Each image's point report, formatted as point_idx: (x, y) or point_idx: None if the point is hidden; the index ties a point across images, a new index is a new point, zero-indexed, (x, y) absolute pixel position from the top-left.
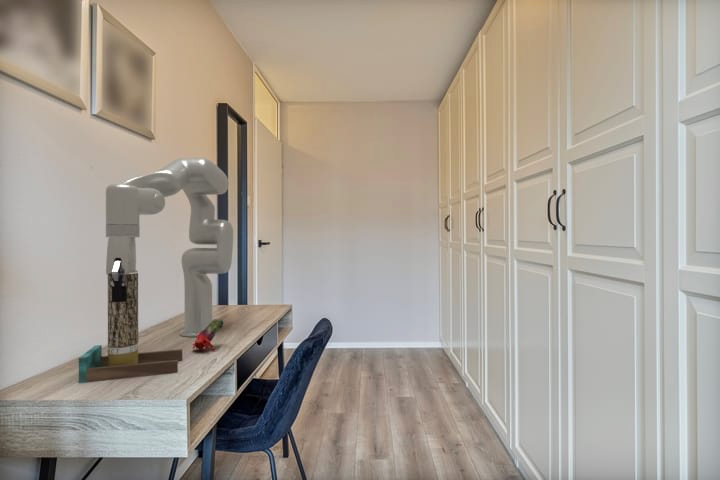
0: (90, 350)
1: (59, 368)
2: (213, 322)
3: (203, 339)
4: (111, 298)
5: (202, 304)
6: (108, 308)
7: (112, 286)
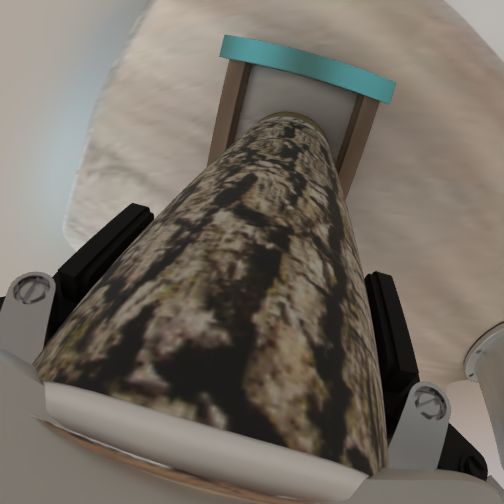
0: (322, 63)
1: (428, 7)
2: None
3: None
4: (165, 208)
5: (496, 418)
6: (227, 160)
7: (38, 275)
